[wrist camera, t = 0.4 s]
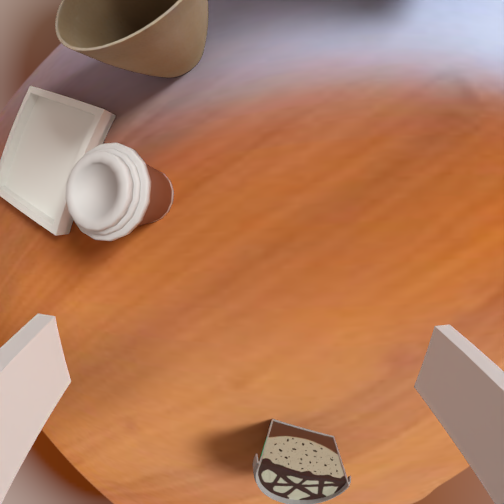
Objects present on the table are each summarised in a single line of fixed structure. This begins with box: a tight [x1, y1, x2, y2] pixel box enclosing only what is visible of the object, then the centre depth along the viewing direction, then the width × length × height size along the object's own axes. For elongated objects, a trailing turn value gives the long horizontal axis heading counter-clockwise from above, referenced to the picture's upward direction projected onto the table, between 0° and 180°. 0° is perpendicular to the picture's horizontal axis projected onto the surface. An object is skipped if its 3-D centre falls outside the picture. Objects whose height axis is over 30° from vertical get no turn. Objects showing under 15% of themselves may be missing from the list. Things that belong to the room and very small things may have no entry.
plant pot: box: [55, 0, 208, 78], centre depth 26 cm, size 15×15×16 cm
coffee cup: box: [65, 143, 174, 241], centre depth 30 cm, size 9×9×12 cm
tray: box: [0, 86, 116, 235], centre depth 36 cm, size 17×17×3 cm
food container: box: [253, 419, 351, 504], centre depth 33 cm, size 12×6×10 cm, turn 69°
